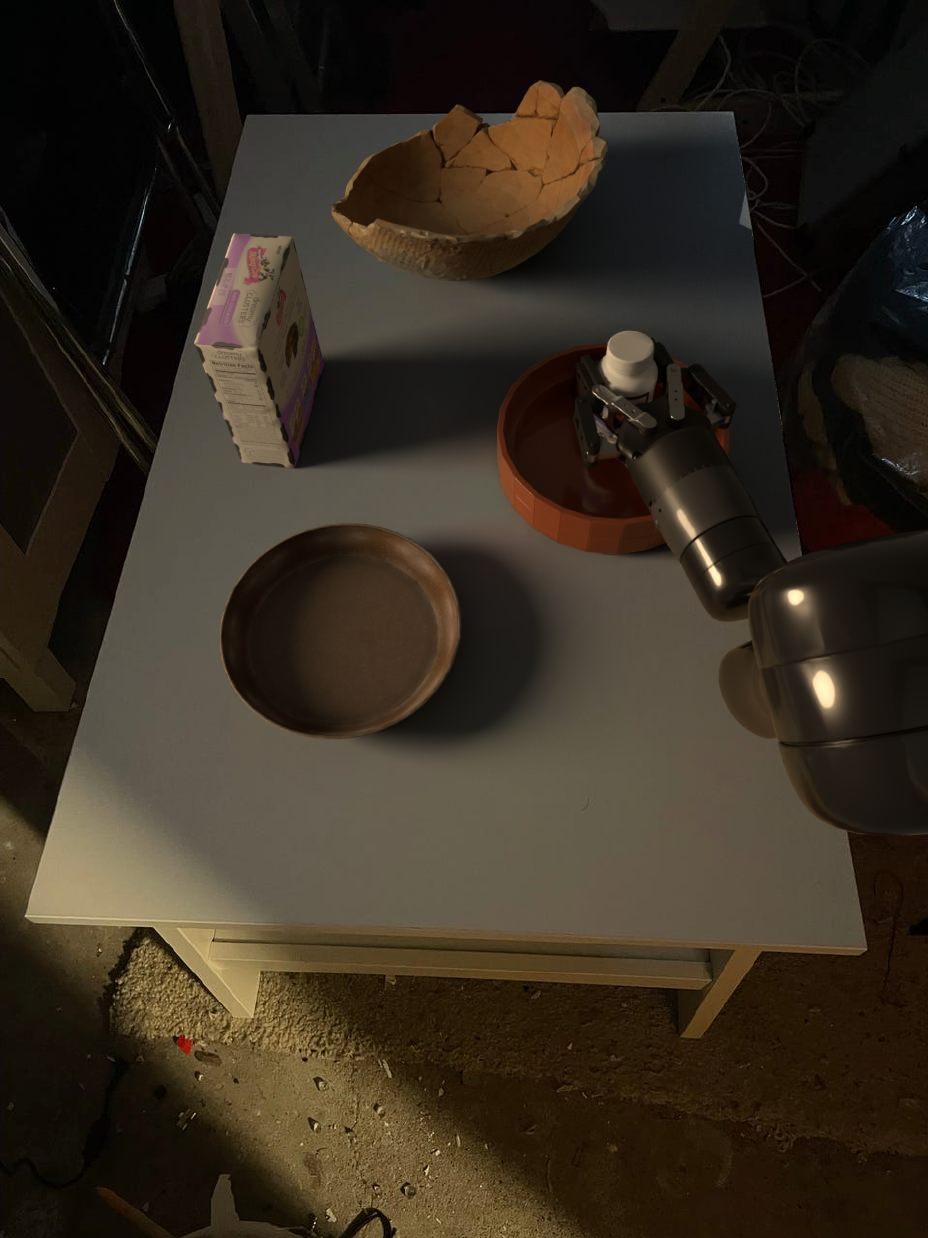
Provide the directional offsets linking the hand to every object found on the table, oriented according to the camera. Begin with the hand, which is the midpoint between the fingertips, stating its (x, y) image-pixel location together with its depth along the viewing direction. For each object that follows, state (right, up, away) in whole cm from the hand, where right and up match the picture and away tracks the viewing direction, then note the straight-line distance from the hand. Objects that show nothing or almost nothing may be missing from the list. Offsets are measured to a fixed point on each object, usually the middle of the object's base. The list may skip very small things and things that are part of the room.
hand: (615, 354), depth 80 cm
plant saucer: (-24, -26, -1) cm, 35 cm away
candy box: (-32, -3, +12) cm, 34 cm away
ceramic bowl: (-13, +20, +23) cm, 33 cm away
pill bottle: (+1, -6, +5) cm, 7 cm away
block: (0, -3, +10) cm, 10 cm away
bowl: (0, -9, +7) cm, 11 cm away
